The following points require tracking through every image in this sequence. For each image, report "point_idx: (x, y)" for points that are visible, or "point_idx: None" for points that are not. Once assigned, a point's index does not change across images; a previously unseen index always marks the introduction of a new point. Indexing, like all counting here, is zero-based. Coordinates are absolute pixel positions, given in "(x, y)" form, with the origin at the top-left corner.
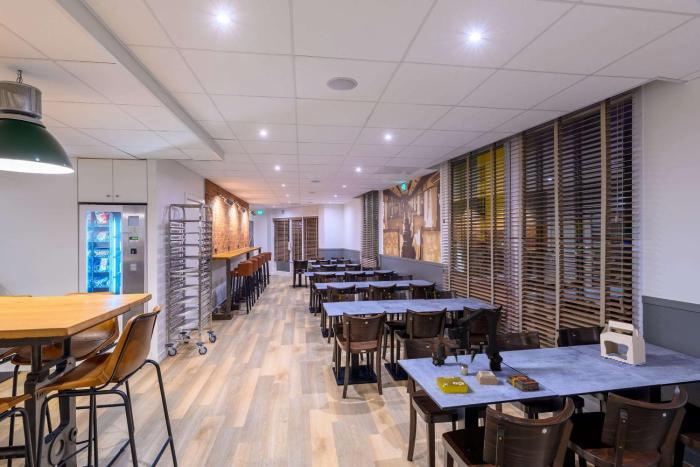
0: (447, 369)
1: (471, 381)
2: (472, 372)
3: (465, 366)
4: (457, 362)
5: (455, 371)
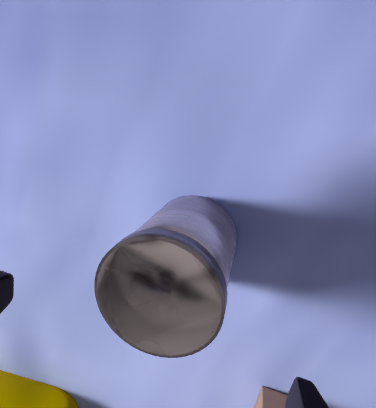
0: (49, 29)
1: (184, 401)
2: (343, 185)
3: (155, 352)
4: (9, 303)
5: (126, 118)
